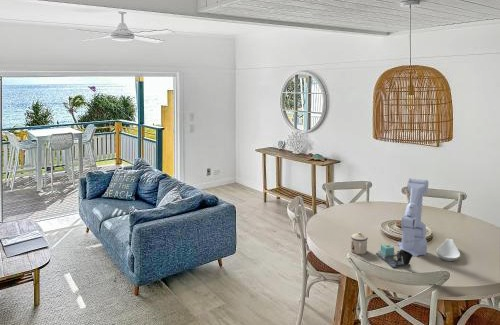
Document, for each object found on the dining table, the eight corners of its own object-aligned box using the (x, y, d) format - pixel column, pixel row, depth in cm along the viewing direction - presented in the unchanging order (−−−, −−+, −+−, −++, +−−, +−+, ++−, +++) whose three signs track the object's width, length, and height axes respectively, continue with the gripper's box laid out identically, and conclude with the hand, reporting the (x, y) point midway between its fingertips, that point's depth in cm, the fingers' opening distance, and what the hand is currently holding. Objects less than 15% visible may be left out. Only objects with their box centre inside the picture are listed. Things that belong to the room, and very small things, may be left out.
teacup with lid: (350, 247, 232) (350, 229, 230) (366, 248, 230) (367, 229, 228) (351, 256, 220) (352, 236, 218) (368, 257, 219) (369, 237, 216)
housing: (388, 250, 223) (389, 242, 222) (393, 254, 218) (394, 246, 217) (380, 251, 222) (381, 243, 221) (385, 255, 217) (385, 247, 216)
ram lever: (398, 259, 213) (398, 248, 212) (404, 264, 207) (405, 253, 206) (391, 260, 212) (392, 249, 211) (397, 265, 206) (398, 254, 205)
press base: (391, 252, 224) (392, 248, 224) (410, 265, 208) (410, 261, 207) (375, 254, 222) (376, 250, 222) (392, 268, 206) (393, 264, 205)
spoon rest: (459, 265, 208) (460, 252, 206) (435, 261, 213) (436, 248, 212) (459, 248, 228) (460, 237, 227) (437, 245, 233) (438, 233, 232)
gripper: (392, 234, 206) (391, 259, 208) (409, 245, 192) (407, 271, 194) (404, 233, 207) (403, 257, 210) (422, 244, 193) (420, 269, 196)
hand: (406, 264), depth 202 cm, fingers closed
